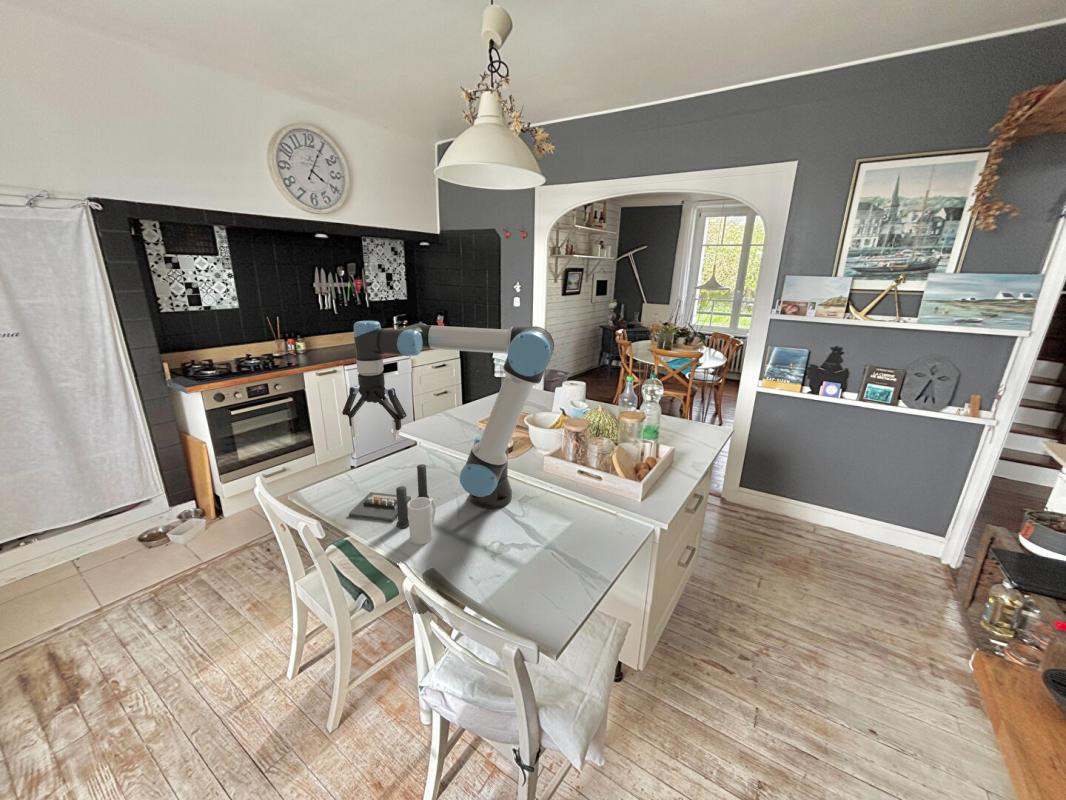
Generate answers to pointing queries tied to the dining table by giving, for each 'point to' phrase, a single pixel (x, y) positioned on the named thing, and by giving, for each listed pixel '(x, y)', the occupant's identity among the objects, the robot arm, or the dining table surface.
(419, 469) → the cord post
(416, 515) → the mug
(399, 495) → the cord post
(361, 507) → the breaker panel
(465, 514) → the dining table surface
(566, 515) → the dining table surface
